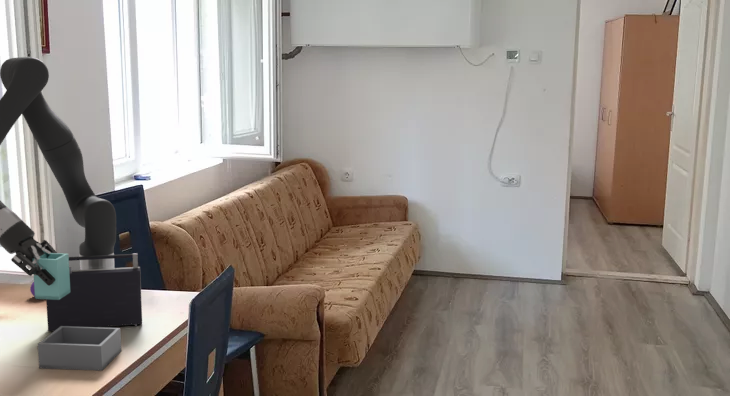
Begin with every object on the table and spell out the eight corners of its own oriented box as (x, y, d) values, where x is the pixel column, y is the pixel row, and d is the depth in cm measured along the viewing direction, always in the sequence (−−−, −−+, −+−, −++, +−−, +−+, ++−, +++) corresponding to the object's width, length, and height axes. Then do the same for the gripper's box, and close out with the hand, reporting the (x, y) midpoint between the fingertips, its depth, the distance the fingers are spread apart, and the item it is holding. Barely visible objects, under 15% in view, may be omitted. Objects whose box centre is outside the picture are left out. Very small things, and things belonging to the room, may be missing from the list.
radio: (142, 319, 205) (139, 250, 202) (142, 326, 200) (139, 255, 197) (48, 326, 199) (44, 255, 195) (45, 333, 194) (41, 260, 190)
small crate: (35, 298, 178) (32, 258, 176) (47, 291, 184) (44, 252, 182) (59, 299, 178) (56, 259, 176) (70, 292, 184) (68, 253, 182)
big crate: (39, 368, 172) (37, 343, 171) (62, 348, 183) (60, 326, 182) (102, 370, 171) (101, 346, 170) (121, 350, 183) (120, 328, 182)
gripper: (2, 226, 171) (55, 277, 172) (33, 214, 185) (82, 261, 186) (-18, 247, 172) (34, 298, 174) (14, 233, 186) (62, 280, 188)
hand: (58, 278), depth 180 cm, fingers closed on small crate, 6 cm apart
